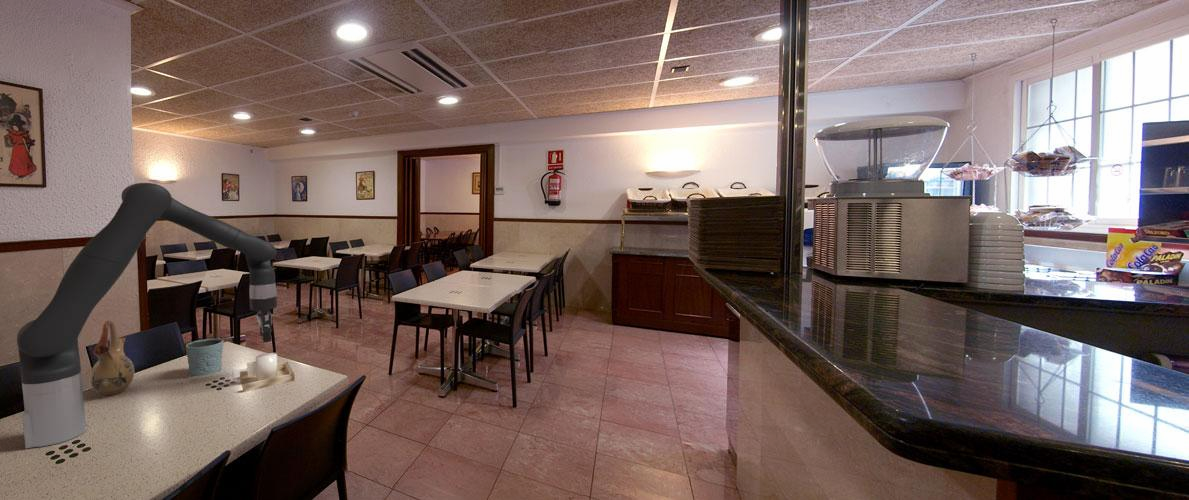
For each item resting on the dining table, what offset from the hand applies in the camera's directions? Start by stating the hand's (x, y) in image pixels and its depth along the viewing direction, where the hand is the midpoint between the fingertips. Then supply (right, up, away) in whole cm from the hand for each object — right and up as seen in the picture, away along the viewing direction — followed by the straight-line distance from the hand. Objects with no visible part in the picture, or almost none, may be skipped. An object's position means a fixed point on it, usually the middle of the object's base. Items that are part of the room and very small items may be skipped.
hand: (265, 338), depth 140 cm
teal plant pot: (-28, -15, +6) cm, 32 cm away
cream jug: (-1, -16, +1) cm, 16 cm away
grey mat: (-12, -15, +7) cm, 20 cm away
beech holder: (-1, -16, +2) cm, 16 cm away
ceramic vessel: (-42, -16, -11) cm, 46 cm away
